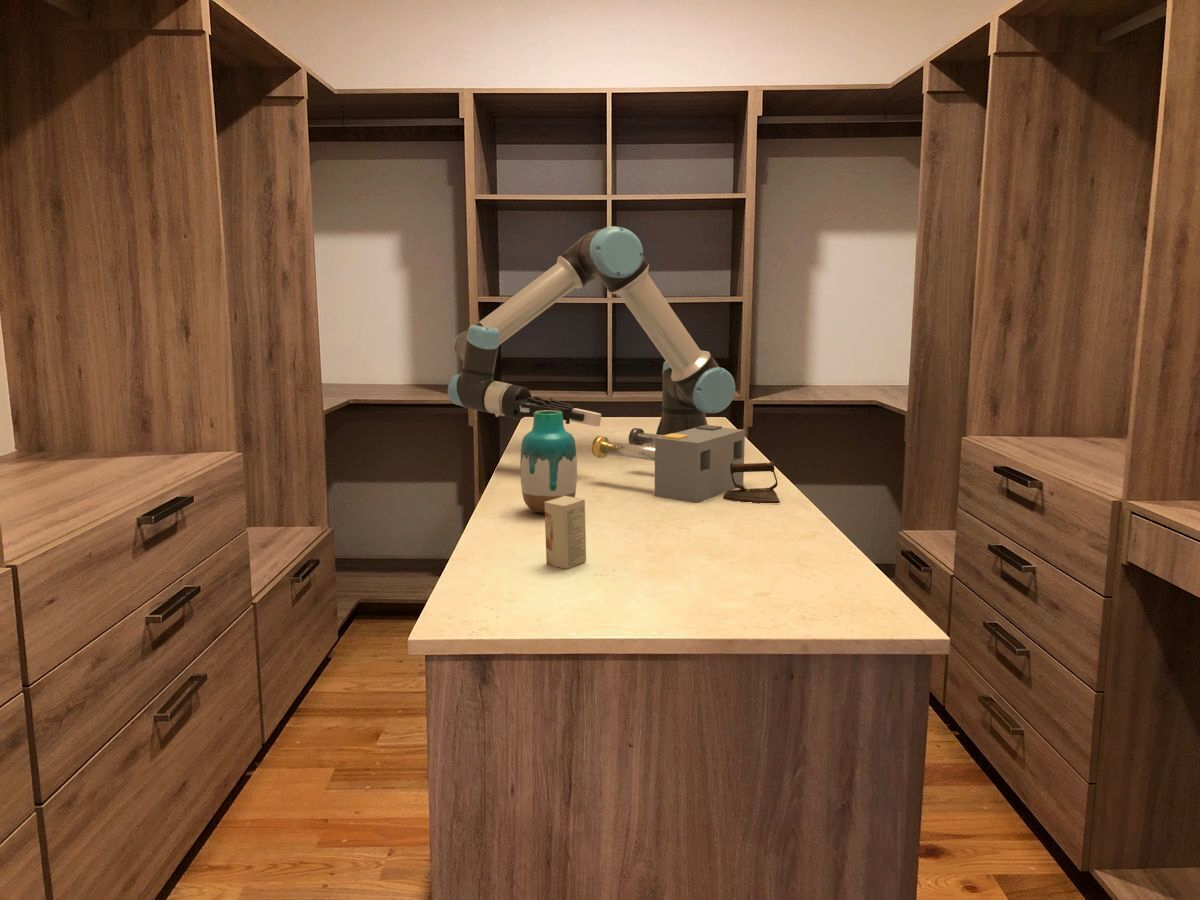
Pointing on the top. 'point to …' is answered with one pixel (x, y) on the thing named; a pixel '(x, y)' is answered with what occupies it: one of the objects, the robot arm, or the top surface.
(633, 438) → the plunger grey
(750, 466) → the clothes iron
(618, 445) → the plunger ochre
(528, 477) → the vase
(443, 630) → the top surface
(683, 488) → the console
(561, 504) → the skincare box
